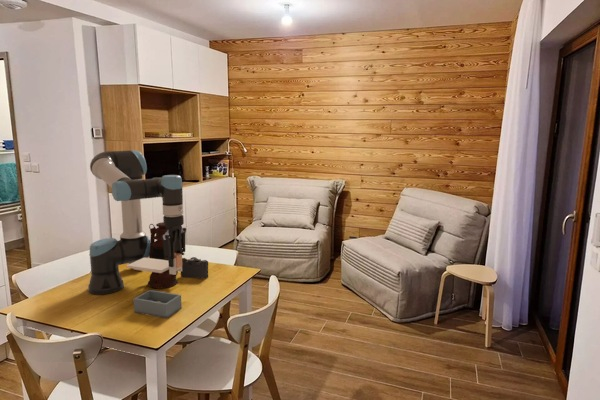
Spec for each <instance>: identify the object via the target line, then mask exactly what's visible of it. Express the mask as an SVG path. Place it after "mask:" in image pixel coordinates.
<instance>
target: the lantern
mask: <svg viewBox="0 0 600 400" xmlns="http://www.w3.org/2000/svg"><path fill="white" fill-rule="evenodd" d="M151 226H152V227H151ZM156 227H157V228H156ZM148 228H149V231H150V232H149V233H150V238H149V239H150V255H149V257H148V258H152V259H160V260H168V259H166V258H164V250H163V240H162V238H161V235H164V234H165V233H166V226H165V225H164V221H162V222H158V223H156V224H153V223H150V224H149V226H148ZM175 253H176V250H175ZM178 272H179V271H176V275H173V274H170V273H169V269H168V270H166V271H164V272H162V273H156V272H150V273H151V274H150V275H149V280H148V281H147V286H149V287H150V288H153V289H169V288H172V287H174V286H176V285H177V284H178V279H177V276H178Z"/></svg>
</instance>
